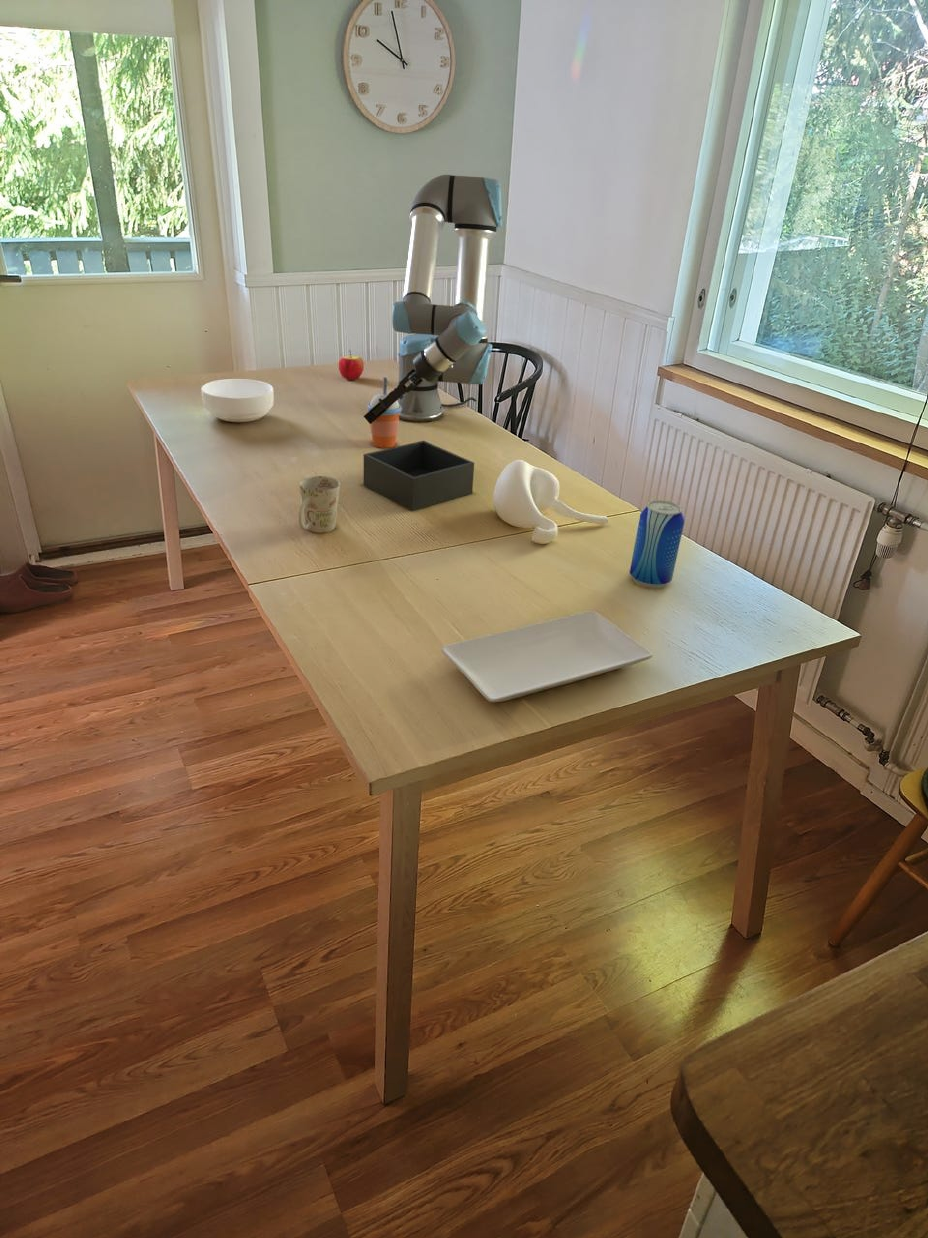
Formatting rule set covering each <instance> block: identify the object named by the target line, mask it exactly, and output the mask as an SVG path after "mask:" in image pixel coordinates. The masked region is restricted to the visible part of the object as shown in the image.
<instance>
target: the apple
mask: <svg viewBox="0 0 928 1238" xmlns="http://www.w3.org/2000/svg"><path fill="white" fill-rule="evenodd" d="M348 351H349V354H350V355H346V356H345V355H344V356H341V357H340V358H339V359H338V364H337V365H338V370H339V371H338V372H339V373H340V375H341V376H342V378H344V379H345V380H348V381H356V380H358V379H359V378H360V377H361V376H362V375H363V371H364V368H365V367H364V365H365V364H364V360H363V358H362V357H361V356H358V355H352V353H351V350H350V349H349V350H348Z"/></svg>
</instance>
